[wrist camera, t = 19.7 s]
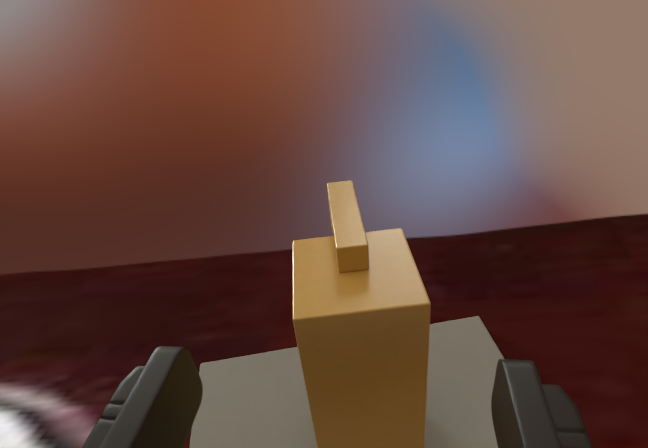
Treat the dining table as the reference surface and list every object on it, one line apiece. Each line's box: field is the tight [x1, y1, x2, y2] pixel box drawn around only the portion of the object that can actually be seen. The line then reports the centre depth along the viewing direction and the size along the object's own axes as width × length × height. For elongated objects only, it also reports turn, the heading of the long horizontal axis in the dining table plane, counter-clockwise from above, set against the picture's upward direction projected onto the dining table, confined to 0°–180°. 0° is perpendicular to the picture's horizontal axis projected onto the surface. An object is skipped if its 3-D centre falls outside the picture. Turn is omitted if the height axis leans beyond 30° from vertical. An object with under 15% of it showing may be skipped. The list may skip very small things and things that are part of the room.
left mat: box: [189, 316, 504, 448], centre depth 20 cm, size 16×12×1 cm
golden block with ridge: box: [292, 181, 431, 448], centre depth 18 cm, size 4×6×11 cm, turn 3°
